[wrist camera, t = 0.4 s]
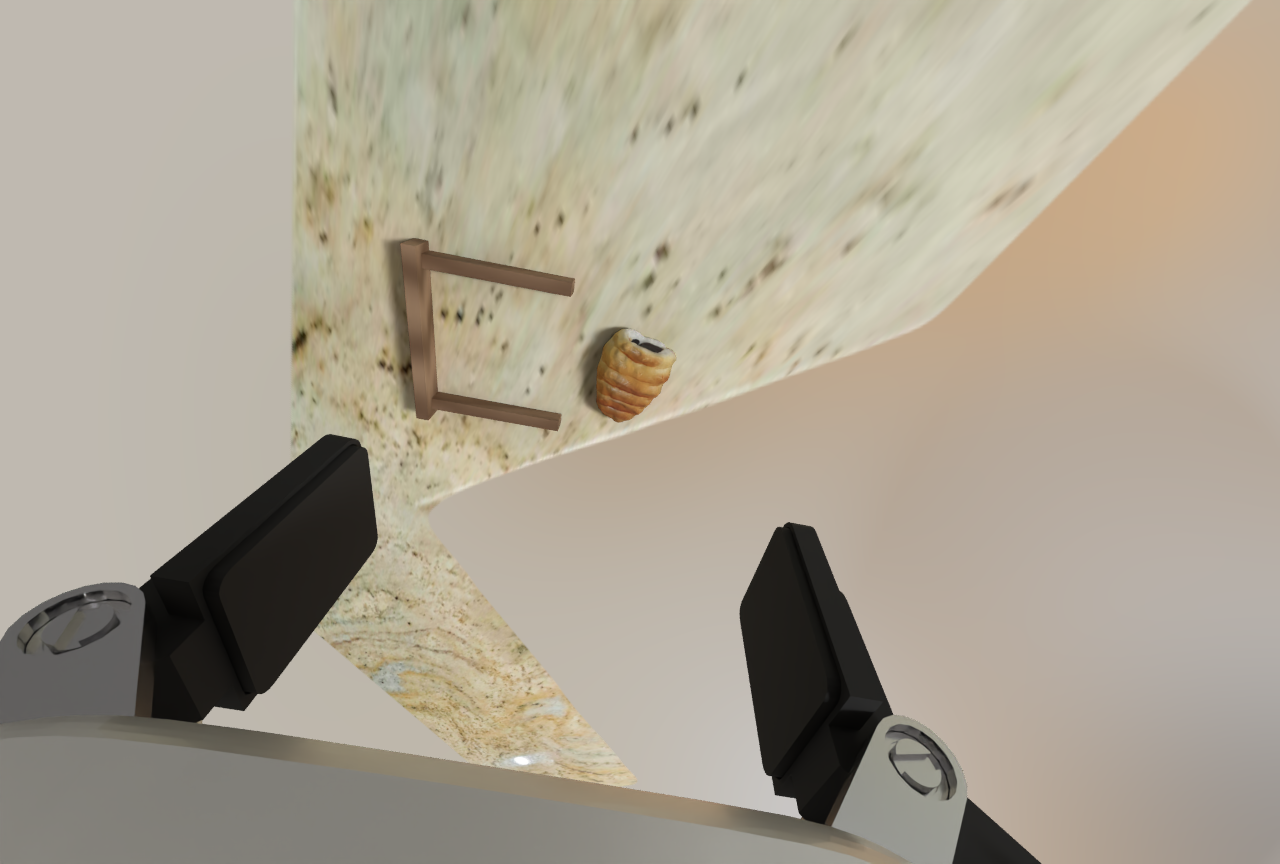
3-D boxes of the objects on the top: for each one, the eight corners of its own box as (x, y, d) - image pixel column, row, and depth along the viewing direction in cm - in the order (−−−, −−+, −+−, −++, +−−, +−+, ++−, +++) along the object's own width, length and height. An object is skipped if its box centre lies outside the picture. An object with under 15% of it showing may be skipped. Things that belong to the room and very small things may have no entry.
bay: (414, 238, 40) (400, 243, 38) (575, 269, 41) (570, 276, 39) (427, 406, 49) (416, 418, 47) (559, 429, 50) (554, 442, 48)
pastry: (642, 422, 49) (640, 442, 46) (582, 399, 48) (576, 417, 45) (680, 346, 45) (680, 362, 41) (614, 318, 44) (610, 332, 40)
